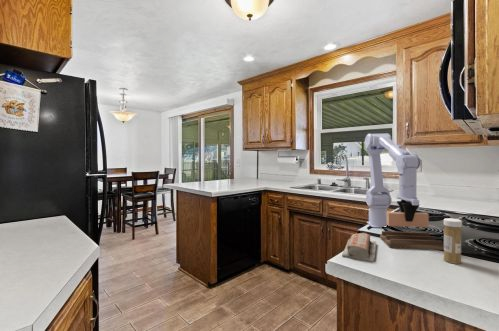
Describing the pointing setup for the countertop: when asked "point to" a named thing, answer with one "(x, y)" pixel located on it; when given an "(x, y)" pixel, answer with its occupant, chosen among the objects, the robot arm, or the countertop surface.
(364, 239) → the packaged product
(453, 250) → the sprinkles bottle
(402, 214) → the tile strip
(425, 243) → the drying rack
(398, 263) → the countertop surface
